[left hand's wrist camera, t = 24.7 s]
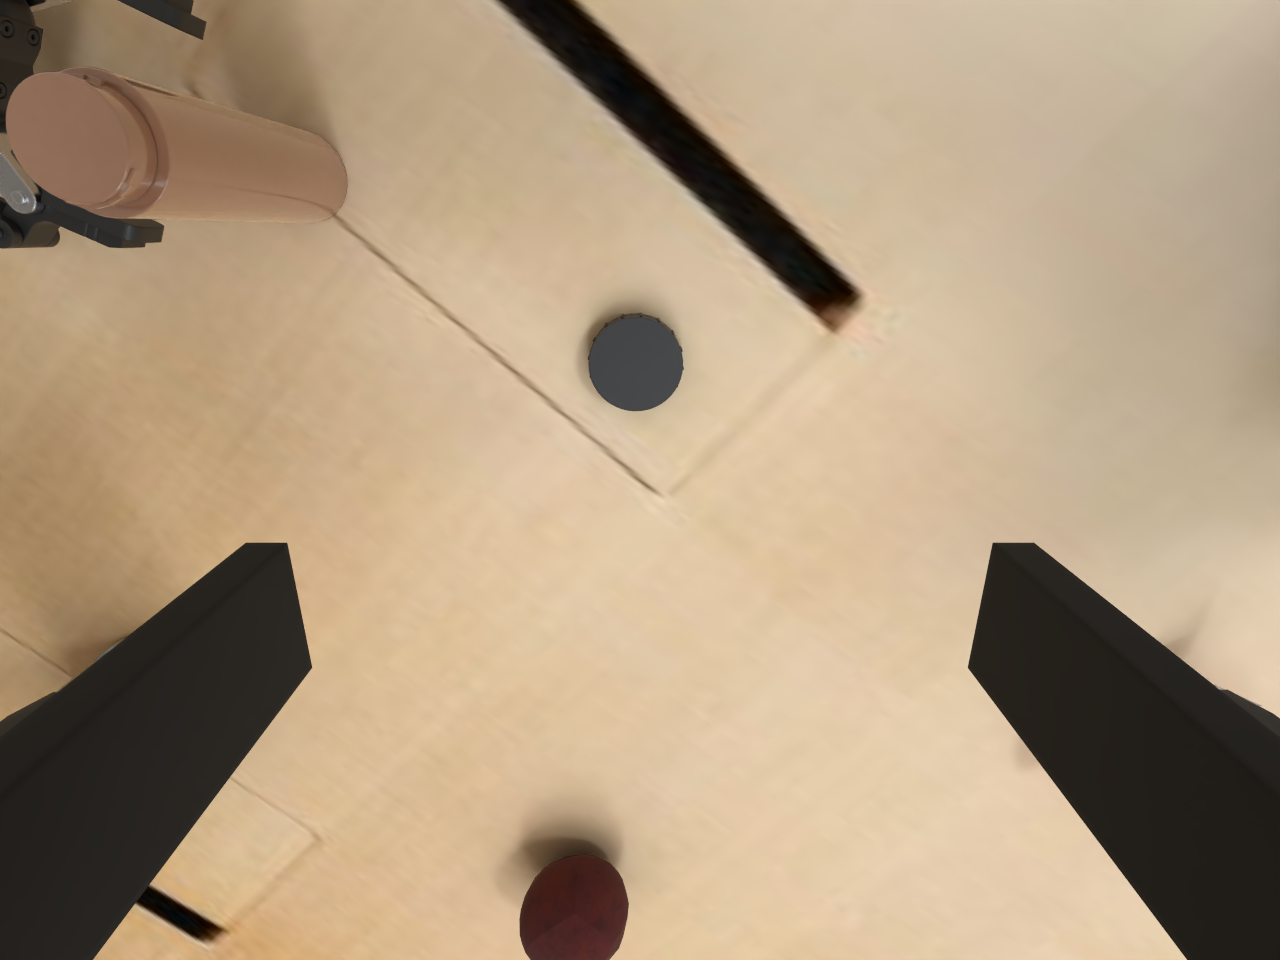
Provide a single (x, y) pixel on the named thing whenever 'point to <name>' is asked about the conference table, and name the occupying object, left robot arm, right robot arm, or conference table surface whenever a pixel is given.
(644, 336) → the lid
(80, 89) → the tan cylinder
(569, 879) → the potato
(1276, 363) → the conference table surface
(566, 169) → the conference table surface
